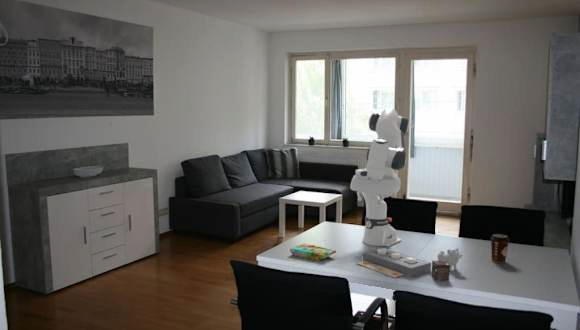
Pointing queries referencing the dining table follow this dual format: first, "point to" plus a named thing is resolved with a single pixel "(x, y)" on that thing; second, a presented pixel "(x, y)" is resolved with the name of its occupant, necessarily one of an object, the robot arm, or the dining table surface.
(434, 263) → the box
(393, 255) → the button
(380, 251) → the button
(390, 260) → the console
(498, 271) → the dining table surface
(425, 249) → the dining table surface
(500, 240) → the coffee cup
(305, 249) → the puzzle game
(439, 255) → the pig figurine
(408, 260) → the button
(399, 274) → the pattern card
